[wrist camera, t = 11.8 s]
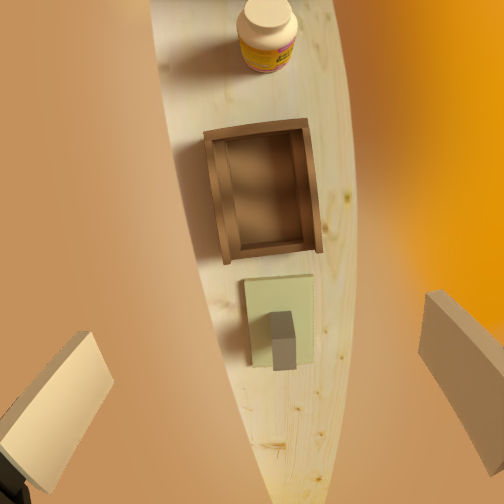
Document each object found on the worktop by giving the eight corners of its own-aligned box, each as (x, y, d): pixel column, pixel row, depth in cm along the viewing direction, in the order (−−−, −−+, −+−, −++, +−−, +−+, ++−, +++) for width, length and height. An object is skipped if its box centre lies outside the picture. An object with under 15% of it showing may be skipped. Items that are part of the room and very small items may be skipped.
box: (211, 136, 38) (202, 131, 32) (301, 124, 37) (307, 117, 31) (229, 251, 42) (223, 264, 36) (315, 241, 41) (323, 252, 35)
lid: (244, 277, 43) (240, 304, 35) (312, 272, 43) (323, 298, 34) (253, 362, 47) (251, 398, 39) (312, 358, 47) (320, 393, 38)
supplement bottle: (277, 81, 35) (283, 46, 23) (233, 62, 35) (220, 22, 22) (299, 45, 34) (312, 1, 21) (255, 26, 33) (252, -22, 21)
